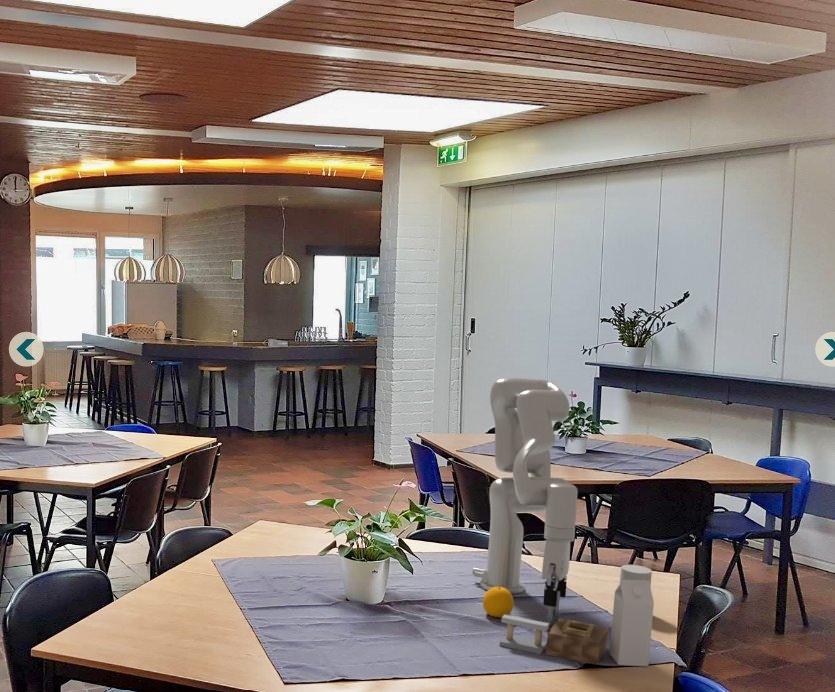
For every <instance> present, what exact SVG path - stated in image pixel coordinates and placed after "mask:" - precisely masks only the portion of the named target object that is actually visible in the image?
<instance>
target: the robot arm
mask: <svg viewBox="0 0 835 692" xmlns="http://www.w3.org/2000/svg"><path fill="white" fill-rule="evenodd" d="M489 395H490V397H489V401H490V402H489V403H490V407H491V412H492V416H493V419H494V426H495V429H494V430H495V431H494V432H495V433H494V462H495V466H496V469H498V471H500V472H502V473H511V474H512V477H500V478H497V479H495V480H493V482H492V483H491V484H490V487H489V504H490V505H489V507H490V521H489V523H490V524H489V525H490V526H489V536H488V537H489V538H488V550H487V562H486V568H484V569H481V568H479V567H473V568H472V575H474V577H477V578H481V579H480V582H479V584H480V587H481V588H482V589H484V590H486V591H488V590H489V589H491V588H493V587H503V588H506V589H507V590H508V591H509V592H510V593H511V594H512V595H514V594H520V593H523V592H524V590H525V585H524V583H522V582H521V580H520V579H521V567H522V566H521V565H522V554H523V553H522V551H523V541H524V540H523V539H524V526H523V523H522V521H521V520H520V518H519V517H518V514H517V513H521V512H522V513H540V512H544V511H545V517H544V530H543V531H544V533H543V538H544V539H545V546H544V552H543V561H542V567H541V578H542V580H545V581H544V589H543V590H544V592H543V603H542V604H543V605H544V606H546V607H547V606H552V607H556V606H557V592H558V591H557V590H559V591H560V598H565V597H566V596H567V595H566V593H567V580H568V577H567V575H568V574H569V569H570V558H571V557H570V556H571V555H570V554H571V542H572V543H573V542H574V541H575V535H576V534H575V532H576V518H577V506H578V505H577V504H578V487H577V486H575V485H574V484H571V483H569V481H568V480H567V479H564V478H562V477H552V473H551V472H552V470H551V469H552V468H551V465H552V464H551V453H550V449H551V448H553V447H554V446H555V443H556V436H555V432H554V428H553V422H563V421H565V420H566V419H567V418H568V416H569V414H570V403H569V402H570V401H569V398H568V397H567V395H566V394H565V392H564V391H563V390H562V389H561V388H559V387H558V386H556V385H555V383H553V382H552V381H549V380H546V379H534V378H518V377H516V378H515V377H506V378H500V379H498V380H496V381H495V382H493V384H492V385H491V389H490V394H489ZM529 475H530V476H529Z"/></svg>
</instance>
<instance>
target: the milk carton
mask: <svg viewBox="0 0 835 692" xmlns="http://www.w3.org/2000/svg"><path fill="white" fill-rule="evenodd" d="M650 582H651V583H652V580H651V581H642V580H622V579H621V580H620V579H619V585H618V586H617V588H616V589H615V591H614V598H613V609H612V610H613V611H612V620H611V624H612V625H611V632H610V633H611V634H610V642H609V643H610V644H609V655H610V657H612V659H613V660H614V661H615V662H616V664H617V665H619V666H628V667H629V666H631V667H649V661H650V660H649V659H650V651H651V641H652V639H651V638H652V627H653V617H654V616H653V615H654V606H655V605H654V604H655V602H654V597H653V592H652V588H651V587H650Z"/></svg>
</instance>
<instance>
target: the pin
mask: <svg viewBox="0 0 835 692" xmlns="http://www.w3.org/2000/svg"><path fill="white" fill-rule="evenodd" d="M557 591H558V592H557V606H556V607H552V606H546V610H545V611H546V613H545V623H549V629H548V630H547V631H546V632H547V633H548V632H549V631H550V629H551V628H552V627H553V626H554V625H555V623H556V622H557V621H558V620H559V611H560V610H559V609H560V601H561V599H560V598H561V597H560V591H559V590H557Z"/></svg>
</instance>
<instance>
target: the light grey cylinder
mask: <svg viewBox="0 0 835 692" xmlns="http://www.w3.org/2000/svg"><path fill="white" fill-rule="evenodd" d="M652 573H653V570H652V569H650V568H649V567H646V566H641V565H636V564H623V565H621V566H620V576H619V581H620V580H621V579H622V580H642V581H651V582H650V587H651V585H652V575H653V574H652Z"/></svg>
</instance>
